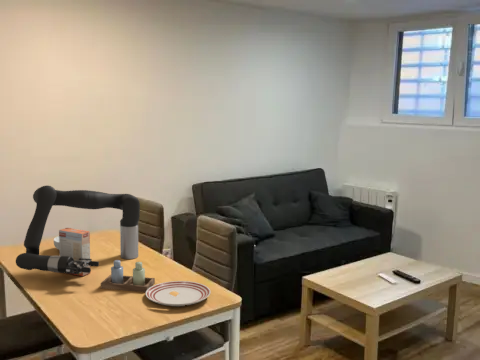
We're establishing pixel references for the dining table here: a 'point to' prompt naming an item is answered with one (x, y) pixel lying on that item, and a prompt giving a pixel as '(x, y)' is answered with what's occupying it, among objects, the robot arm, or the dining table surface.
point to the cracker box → (75, 245)
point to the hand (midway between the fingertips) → (94, 267)
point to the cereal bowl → (56, 242)
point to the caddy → (127, 284)
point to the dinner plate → (186, 290)
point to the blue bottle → (117, 273)
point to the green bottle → (138, 274)
